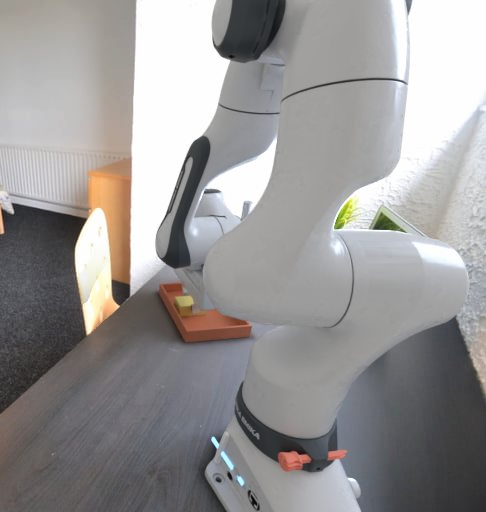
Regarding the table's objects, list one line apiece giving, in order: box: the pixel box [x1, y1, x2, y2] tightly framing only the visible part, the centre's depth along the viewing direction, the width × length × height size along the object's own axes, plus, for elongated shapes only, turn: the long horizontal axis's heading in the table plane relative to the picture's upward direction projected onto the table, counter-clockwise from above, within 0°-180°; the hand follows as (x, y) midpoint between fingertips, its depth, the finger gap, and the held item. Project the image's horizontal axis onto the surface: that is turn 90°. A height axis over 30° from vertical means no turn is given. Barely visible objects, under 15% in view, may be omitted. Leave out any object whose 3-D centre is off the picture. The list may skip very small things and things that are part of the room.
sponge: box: [174, 296, 207, 316], centre depth 92 cm, size 7×4×3 cm, turn 96°
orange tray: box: [158, 281, 253, 343], centre depth 92 cm, size 21×15×3 cm
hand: (190, 305), depth 92 cm, fingers closed on sponge, 4 cm apart
